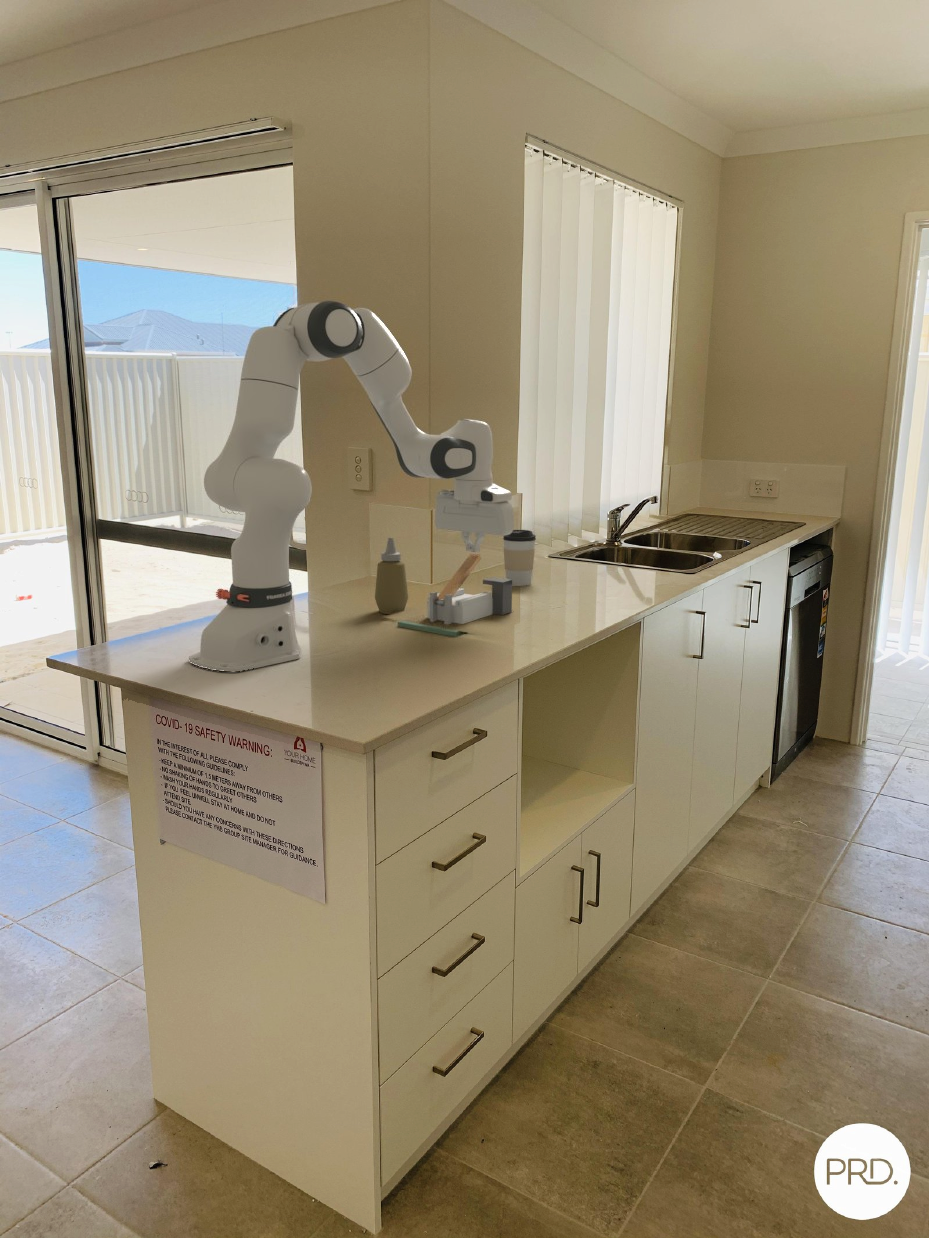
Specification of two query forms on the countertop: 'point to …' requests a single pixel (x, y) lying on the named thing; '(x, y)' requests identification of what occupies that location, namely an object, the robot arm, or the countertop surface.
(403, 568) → the squeeze bottle
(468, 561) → the strap
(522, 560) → the coffee cup
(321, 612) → the countertop surface
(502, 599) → the block
